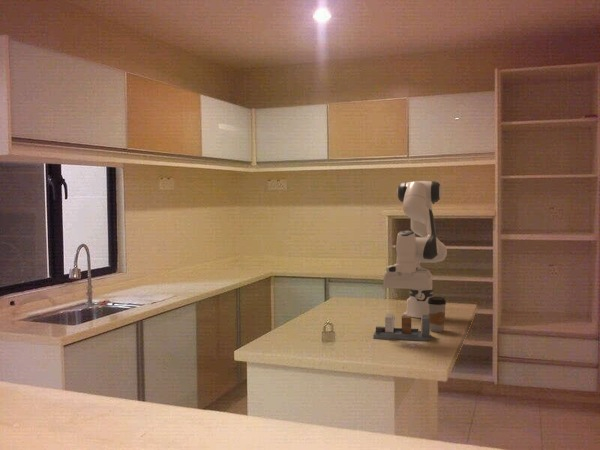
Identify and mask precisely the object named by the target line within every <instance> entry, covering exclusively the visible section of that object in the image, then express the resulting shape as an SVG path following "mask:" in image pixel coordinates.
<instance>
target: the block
mask: <svg viewBox="0 0 600 450" xmlns="http://www.w3.org/2000/svg"><path fill="white" fill-rule="evenodd" d="M401 328H402V333H406V334H411V329H412V317H411V316H406V315H401Z"/></svg>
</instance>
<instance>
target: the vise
mask: <svg viewBox="0 0 600 450" xmlns="http://www.w3.org/2000/svg"><path fill="white" fill-rule="evenodd" d="M420 319H421V320H420V330H419V328H411V334H406V333H402V327H395V330H394V332H393V333H385V332H376V330H375V331H374V332H373V339H377V340H378V339H380V340H397V341H398V340H399V341H400V340H402V341H419V342H420V341H421V342H423V341H424V342H430V338H431V333H430V331H431V330H430V315H423V316H422V317H421V318H420Z"/></svg>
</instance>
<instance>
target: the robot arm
mask: <svg viewBox="0 0 600 450" xmlns="http://www.w3.org/2000/svg"><path fill="white" fill-rule="evenodd" d="M442 189H443V188H442V186H441V183H440V182H438V181H434V180H432V181H429V180H428V181H427V180H419V181H418V180H414V181H408V182H407V181H403V182H401V183H400V184H398V187H397V189H396V195H397V198H398V200H399V201H400V202H401V203H402V209H403V212H404V214H405V215H406V217H407V218H409V219H410V229H411V230H401V231H399V232H398V233H397V237H396V241H395V253H396V260H395V261H396V262H395V263H394V264H391V265H390V264H389V265H387V266H386V269H385V271H386V272H384V273H385V274H384V276H383V280H382V281H383V284H382V285H383V287H384V289H391V293H392V294H393V299H398V293H396V292H395V291H396V289H397V290H398V289H400V290H401V289H405V290H406V289H408V290H409V297H408V298H407V299H406V311H404V312H403V313H402V314H403V315H402V316H411V318H418V319H421V317H422V316H423V315H429V310H428V300H429V298H430V297H434V289H433V274H432V273H431V270H430V269H428V268H427V267H422V266H421V265H420V264H421V263H429V264H430V263H431V264H432V263H439V262H443V261H445V259H446V258H447V255H448V250H447V247H446V245H445V244H444V242H442V241H440V240H439V239H438V237H437V232H436V223H435V217H434V213H433V206H432V205H435V203H437V202H439V201H440V200H441V198H442V195H443V190H442ZM416 235H417V236H416Z"/></svg>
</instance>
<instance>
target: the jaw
mask: <svg viewBox="0 0 600 450" xmlns="http://www.w3.org/2000/svg"><path fill="white" fill-rule="evenodd" d="M395 321H396V317H395V315H394V313H386V315H385V317H384V326H378V325H377V326H375V331H376V332H385V333H393V332H394V330H395V328H396V324H395V323H396V322H395Z"/></svg>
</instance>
